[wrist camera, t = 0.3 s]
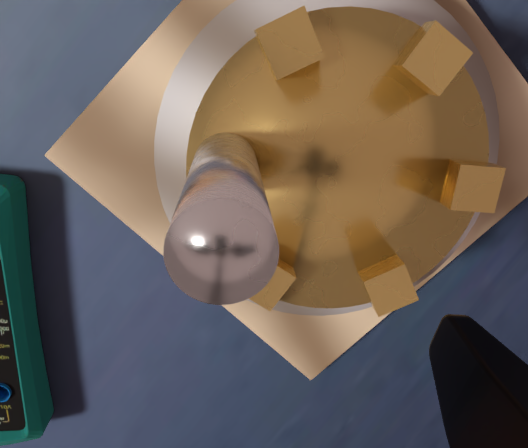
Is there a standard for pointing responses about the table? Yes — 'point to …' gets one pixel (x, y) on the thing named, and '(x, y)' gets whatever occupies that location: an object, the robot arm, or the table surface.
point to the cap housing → (182, 116)
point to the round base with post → (331, 164)
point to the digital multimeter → (19, 326)
